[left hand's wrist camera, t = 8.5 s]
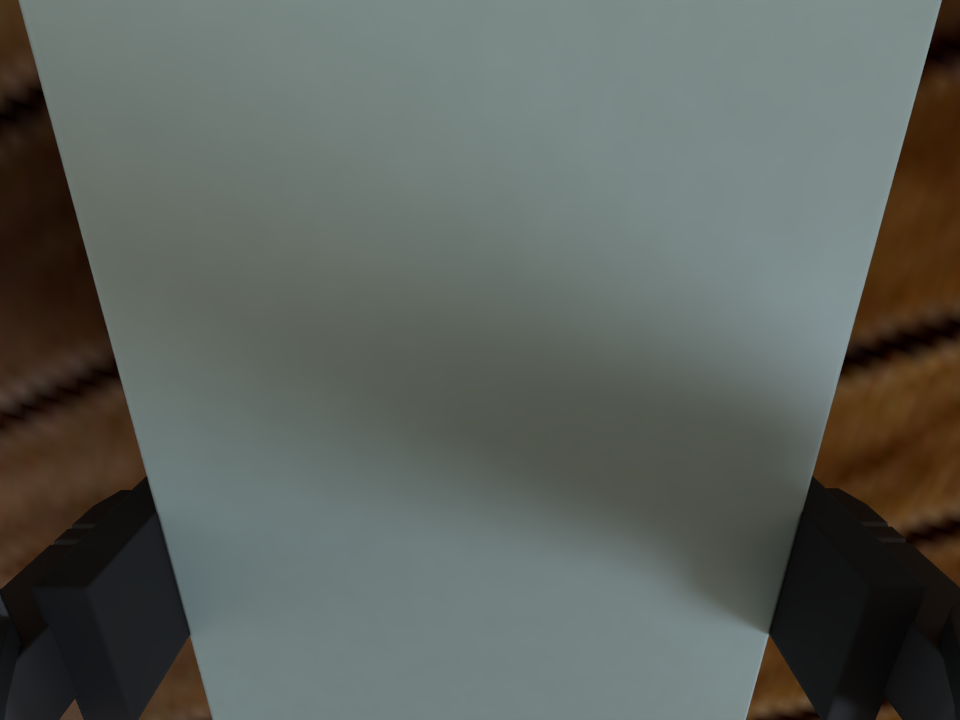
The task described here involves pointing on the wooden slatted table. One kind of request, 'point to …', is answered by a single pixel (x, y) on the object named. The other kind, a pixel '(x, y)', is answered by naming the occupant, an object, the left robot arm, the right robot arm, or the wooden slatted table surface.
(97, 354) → the wooden slatted table surface
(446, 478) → the cabinet
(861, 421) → the wooden slatted table surface
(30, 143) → the wooden slatted table surface
